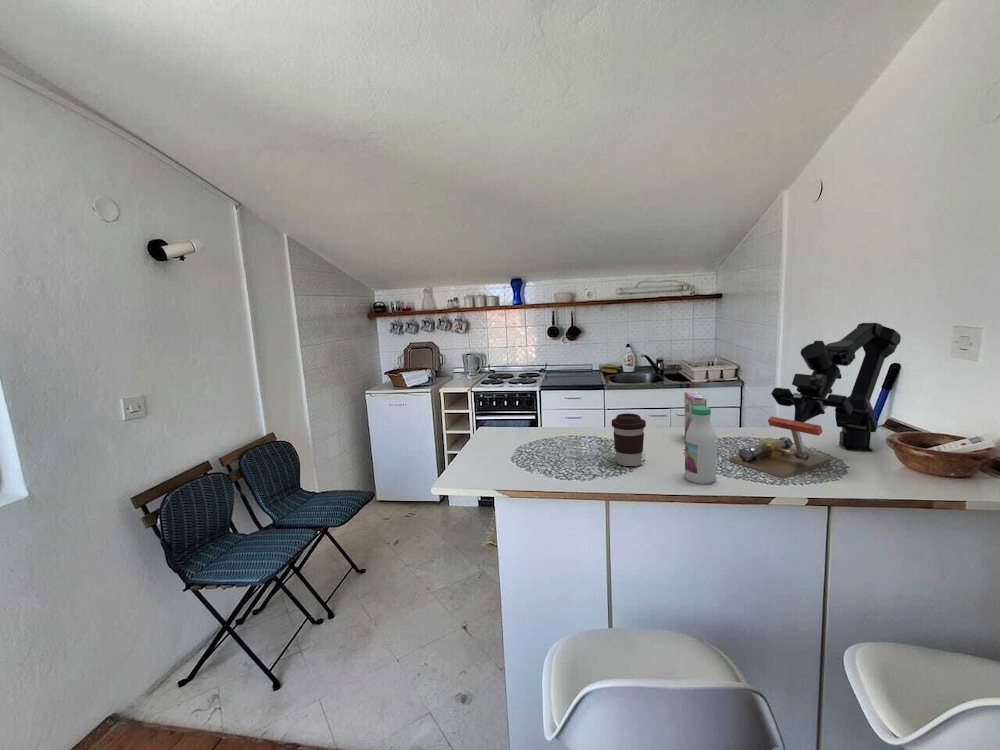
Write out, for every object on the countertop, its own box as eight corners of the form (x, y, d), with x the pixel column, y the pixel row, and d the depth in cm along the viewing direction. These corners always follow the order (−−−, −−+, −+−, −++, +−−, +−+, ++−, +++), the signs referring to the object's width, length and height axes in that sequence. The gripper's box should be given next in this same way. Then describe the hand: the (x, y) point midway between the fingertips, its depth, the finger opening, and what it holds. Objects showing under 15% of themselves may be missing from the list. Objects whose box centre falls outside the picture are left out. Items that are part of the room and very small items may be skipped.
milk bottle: (713, 475, 117) (715, 404, 115) (718, 485, 110) (719, 411, 107) (683, 472, 120) (684, 404, 117) (686, 483, 113) (686, 410, 110)
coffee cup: (647, 459, 132) (647, 412, 130) (644, 470, 123) (643, 420, 121) (615, 456, 136) (614, 411, 134) (609, 467, 127) (608, 418, 125)
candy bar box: (683, 436, 154) (683, 392, 152) (698, 436, 153) (698, 391, 151) (690, 445, 143) (691, 398, 141) (706, 445, 142) (707, 398, 140)
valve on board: (774, 448, 136) (775, 432, 135) (831, 462, 122) (832, 445, 121) (729, 461, 127) (729, 444, 126) (784, 478, 112) (785, 459, 112)
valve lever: (781, 450, 127) (771, 416, 123) (830, 462, 115) (821, 425, 111) (777, 454, 126) (767, 420, 122) (826, 467, 114) (817, 430, 111)
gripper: (776, 360, 126) (751, 401, 123) (850, 365, 109) (823, 413, 106) (791, 383, 130) (767, 423, 127) (864, 392, 113) (838, 438, 110)
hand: (796, 424), depth 117 cm, fingers closed, pressing on valve lever
